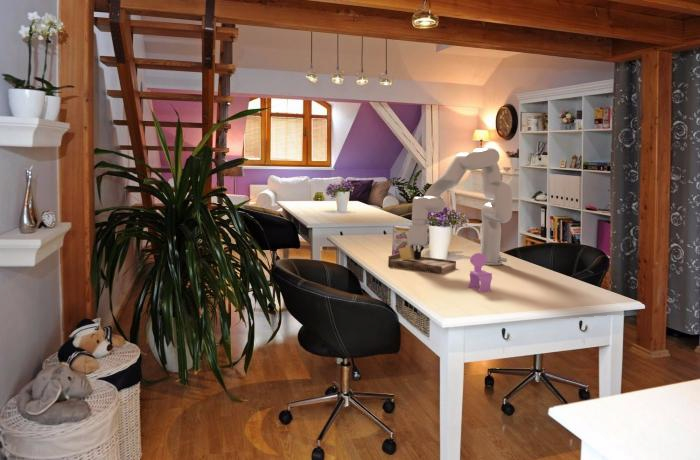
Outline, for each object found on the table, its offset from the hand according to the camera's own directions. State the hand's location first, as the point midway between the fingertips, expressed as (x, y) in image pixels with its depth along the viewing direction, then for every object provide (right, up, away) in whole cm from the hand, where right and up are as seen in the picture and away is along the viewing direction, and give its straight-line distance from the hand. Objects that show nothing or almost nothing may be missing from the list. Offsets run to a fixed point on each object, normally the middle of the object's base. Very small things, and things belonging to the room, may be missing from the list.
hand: (417, 259), depth 297 cm
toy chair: (+21, -11, -43) cm, 50 cm away
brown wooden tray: (+2, -4, -1) cm, 5 cm away
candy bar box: (-5, -1, +24) cm, 24 cm away
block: (-4, 0, +2) cm, 4 cm away
